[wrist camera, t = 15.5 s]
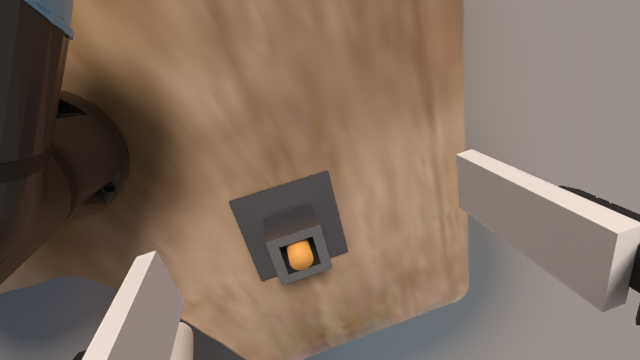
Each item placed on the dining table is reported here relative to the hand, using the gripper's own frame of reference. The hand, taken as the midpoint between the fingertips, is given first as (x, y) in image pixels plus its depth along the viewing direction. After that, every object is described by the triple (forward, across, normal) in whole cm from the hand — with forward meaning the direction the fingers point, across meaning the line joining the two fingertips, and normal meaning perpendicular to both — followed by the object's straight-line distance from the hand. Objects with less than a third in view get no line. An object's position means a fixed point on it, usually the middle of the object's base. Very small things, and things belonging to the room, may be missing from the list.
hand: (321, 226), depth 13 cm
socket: (+28, -2, -17) cm, 33 cm away
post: (+29, -2, -17) cm, 33 cm away
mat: (+29, -2, -17) cm, 33 cm away
